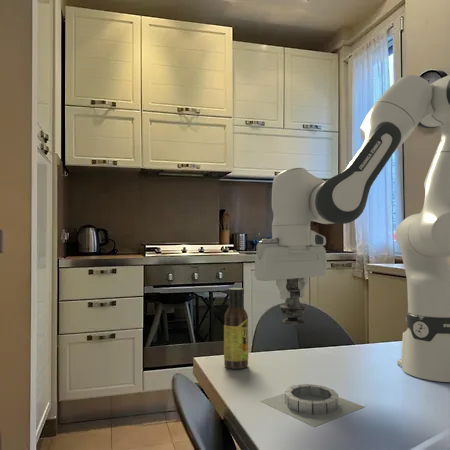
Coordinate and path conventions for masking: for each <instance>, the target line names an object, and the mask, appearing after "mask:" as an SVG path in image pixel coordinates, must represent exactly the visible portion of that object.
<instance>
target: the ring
mask: <svg viewBox="0 0 450 450" xmlns="http://www.w3.org/2000/svg"><path fill="white" fill-rule="evenodd" d="M284 393H285V404H286V405H287V407H288V408H289V409H292V410H294V411H296V412H299V413H304V414H310V415H312V414H313V415H323V414H329V413H332V412H334V411H336V410H337V408H338V406H339V399H338V397H339V394H338V392H337V391H335V390H334V389H333V388H329V387H326V386H324V385H319V384H318V385H317V384H313V383H312V384H308V383H307V384H306V383H305V384H304V383H303V384H296V385H292V386H289V387H287V388H286V390H285V391H284ZM305 396H312V397H319V398H322V399H325V400H323V401H308V400H302V399H299V398H298V397H305Z"/></svg>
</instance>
